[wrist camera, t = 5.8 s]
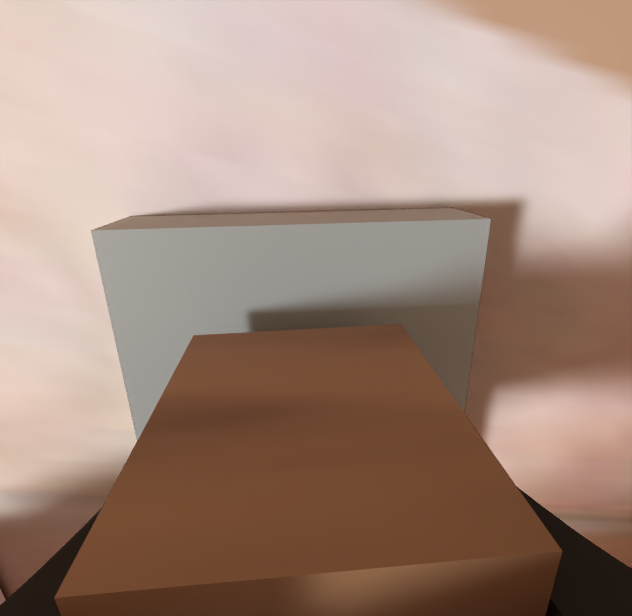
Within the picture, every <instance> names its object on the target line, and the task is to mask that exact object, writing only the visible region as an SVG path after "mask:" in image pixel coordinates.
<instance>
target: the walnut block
mask: <svg viewBox="0 0 632 616" xmlns="http://www.w3.org/2000/svg"><path fill="white" fill-rule="evenodd" d="M561 555H562V550H561V548H560V547H559V545H558V544H557V543H556V541H555V540H554V538H553V537H552V536H551V534H550V533H549V531H548V530H547V529H546V527H545V526H544V524H543V523H542V522H541V520H540V519H539V517H538V516H537V515H536V513H535V512H534V510H533V509H532V508H531V506H530V505H529V503H528V502H527V501H526V499H525V498H524V496H523V495H522V493H521V492H520V491H519V489H518V488H517V486H516V485H515V484H514V482H513V481H512V479H511V478H510V477H509V475H508V474H507V472H506V471H505V470H504V468H503V467H502V465H501V464H500V463H499V461H498V460H497V458H496V457H495V456H494V454H493V453H492V451H491V450H490V448H489V447H488V446H487V444H486V443H485V441H484V440H483V439H482V437H481V436H480V434H479V433H478V432H477V430H476V429H475V427H474V426H473V425H472V423H471V422H470V420H469V419H468V418H467V416H466V415H465V413H464V412H463V411H462V409H461V408H460V406H459V405H458V404H457V402H456V401H455V399H454V398H453V396H452V395H451V394H450V392H449V391H448V389H447V388H446V387H445V385H444V384H443V382H442V381H441V380H440V378H439V377H438V375H437V374H436V373H435V371H434V370H433V368H432V367H431V366H430V364H429V363H428V361H427V360H426V359H425V357H424V356H423V354H422V353H421V351H420V350H419V349H418V347H417V346H416V344H415V343H414V342H413V340H412V339H411V337H410V336H409V335H408V333H407V332H406V330H405V329H404V328H403V326H402V325H401V324H388V325H370V326H352V327H334V328H316V329H298V330H280V331H262V332H244V333H226V334H208V335H193V337H192V339H191V341H190V343H189V345H188V346H187V348H186V350H185V352H184V354H183V356H182V358H181V360H180V362H179V363H178V365H177V367H176V369H175V371H174V373H173V375H172V377H171V379H170V380H169V382H168V384H167V386H166V388H165V390H164V392H163V394H162V395H161V397H160V399H159V401H158V403H157V405H156V407H155V409H154V411H153V412H152V414H151V416H150V418H149V420H148V422H147V424H146V426H145V428H144V429H143V431H142V433H141V435H140V437H139V439H138V441H137V443H136V445H135V446H134V448H133V450H132V452H131V454H130V456H129V458H128V460H127V462H126V463H125V465H124V467H123V469H122V471H121V473H120V475H119V477H118V478H117V480H116V482H115V484H114V486H113V488H112V490H111V492H110V494H109V495H108V497H107V499H106V501H105V503H104V505H103V507H102V509H101V511H100V512H99V514H98V516H97V518H96V520H95V522H94V524H93V526H92V528H91V529H90V531H89V533H88V535H87V537H86V539H85V541H84V543H83V545H82V546H81V548H80V550H79V552H78V554H77V556H76V558H75V560H74V561H73V563H72V565H71V567H70V569H69V571H68V573H67V575H66V577H65V578H64V580H63V582H62V584H61V586H60V588H59V590H58V592H57V594H56V595H55V597H54V599H55V601H56V604H57V606H58V609H59V611H60V614H61V616H545V615H546V611H547V607H548V604H549V600H550V596H551V592H552V589H553V585H554V581H555V577H556V574H557V570H558V566H559V562H560V559H561Z"/></svg>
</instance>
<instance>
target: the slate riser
mask: <svg viewBox="0 0 632 616" xmlns="http://www.w3.org/2000/svg"><path fill="white" fill-rule="evenodd" d="M490 223H491V219H490V218H486V217H483V216H479V215H476V214H472V213H469V212H465V211H462V210H458V209H455V208H421V209H383V210H346V211H308V212H271V213H233V214H196V215H158V216H130V217H127V218H124V219H121V220H119V221H116V222H113V223H110V224H108V225H105V226H102V227H99V228H97V229H94V230H91V232H92V237H93V241H94V246H95V251H96V255H97V260H98V264H99V269H100V273H101V278H102V283H103V287H104V292H105V296H106V301H107V305H108V310H109V315H110V319H111V324H112V328H113V333H114V337H115V342H116V346H117V351H118V356H119V360H120V365H121V369H122V374H123V378H124V383H125V388H126V392H127V397H128V401H129V406H130V410H131V415H132V420H133V424H134V429H135V433H136V438H137V441H138V439H139V437H140V435H141V433H142V431H143V429H144V428H145V426H146V424H147V422H148V420H149V418H150V416H151V414H152V412H153V411H154V409H155V407H156V405H157V403H158V401H159V399H160V397H161V395H162V394H163V392H164V390H165V388H166V386H167V384H168V382H169V380H170V379H171V377H172V375H173V373H174V371H175V369H176V367H177V365H178V363H179V362H180V360H181V358H182V356H183V354H184V352H185V350H186V348H187V346H188V345H189V343H190V341H191V339H192V337H193V335H208V334H226V333H244V332H262V331H280V330H298V329H316V328H334V327H352V326H370V325H388V324H401V325H402V326H403V328H404V329H405V330H406V332H407V333H408V335H409V336H410V337H411V339H412V340H413V342H414V343H415V344H416V346H417V347H418V349H419V350H420V351H421V353H422V354H423V356H424V357H425V359H426V360H427V361H428V363H429V364H430V366H431V367H432V368H433V370H434V371H435V373H436V374H437V375H438V377H439V378H440V380H441V381H442V382H443V384H444V385H445V387H446V388H447V389H448V391H449V392H450V394H451V395H452V396H453V398H454V399H455V401H456V402H457V404H458V405H459V406H460V408H461V409H462V411H463V412H465V404H466V397H467V390H468V383H469V375H470V368H471V361H472V354H473V346H474V339H475V332H476V325H477V317H478V310H479V303H480V296H481V288H482V281H483V274H484V267H485V259H486V252H487V245H488V238H489V230H490Z"/></svg>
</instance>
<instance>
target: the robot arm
mask: <svg viewBox="0 0 632 616" xmlns="http://www.w3.org/2000/svg"><path fill="white" fill-rule="evenodd" d="M517 488H518V487H517ZM518 489H519V488H518ZM519 491H520V492H521V493H522V495H523V496H524V498H525V499H526V501H527V502H528V503H529V505H530V506H531V508H532V509H533V510H534V512H535V513H536V515H537V516H538V517H539V519H540V520H541V522H542V523H543V524H544V526H545V527H546V529H547V530H548V531H549V533H550V534H551V536H552V537H553V538H554V540H555V541H556V543H557V544H558V545H559V547H560V548H561V550H562V555H561V559H560V562H559V566H558V570H557V574H556V577H555V581H554V585H553V589H552V592H551V596H550V600H549V604H548V607H547V611H546V615H545V616H632V569H631V568H630V567H628V566H627V565H625V564H623V563H622V562H620V561H619V560H617V559H616V558H614V557H613V556H611V555H610V554H608V553H607V552H605V551H604V550H602V549H601V548H599V547H598V546H596V545H595V544H593V543H592V542H590V541H589V540H588V539H586V538H585V537H583V536H582V535H580V534H579V533H578V532H576V531H575V530H573V529H572V528H571V527H569V526H568V525H567V524H565V523H564V522H563V521H561V520H560V519H559V518H557V517H556V516H554V515H553V514H552V513H550V512H549V511H548V510H546V509H545V508H544V507H542V506H541V505H540V504H538V503H537V502H536V501H534V500H533V499H532V498H531V497H529V496H528V495H527V494H525V493H524V492H523V491H522V490H520V489H519ZM101 509H102V508H101ZM101 509H100V510H99V511H98V512H97V513H96V514H95V515H94V516H93V517H92V518H91V519H90V520H89V521H88V522H87V523H86V524H85V526H84V527H83V528H82V529H81V530H80V531H79V532H78V533H77V534H75V535H74V536H73V537H72V538H71V539H70V540H69V541H68V542H67V543H66V544H65V545H64V546H63V547H62V548H61V549H60V550H59V551H58V552H57V553H56V554H55V555H54V556H53V557H52V558H51V559H50V560H49V561H48V562H47V563H46V564H45V565H44V566H43V567H42V568H41V569H40V570H38V571H37V572H36V573H35V574H34V575H33V576H32V577H31V578H30V579H29V580H28V581H27V582H26V583H24V584H23V585H22V586H21V587H20V588H19V589H18V590H17V591H16V592H14V593H13V594H12V595H11V596H10V597H9V598H8V599H7V600H5V598H4V595H3V593H2V591H1V589H0V616H61V614H60V611H59V609H58V606H57V604H56V601H55V599H54V597H55V595H56V594H57V592H58V590H59V588H60V586H61V584H62V582H63V580H64V578H65V577H66V575H67V573H68V571H69V569H70V567H71V565H72V563H73V561H74V560H75V558H76V556H77V554H78V552H79V550H80V548H81V546H82V545H83V543H84V541H85V539H86V537H87V535H88V533H89V531H90V529H91V528H92V526H93V524H94V522H95V520H96V518H97V516H98V514H99V512H100V511H101Z"/></svg>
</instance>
